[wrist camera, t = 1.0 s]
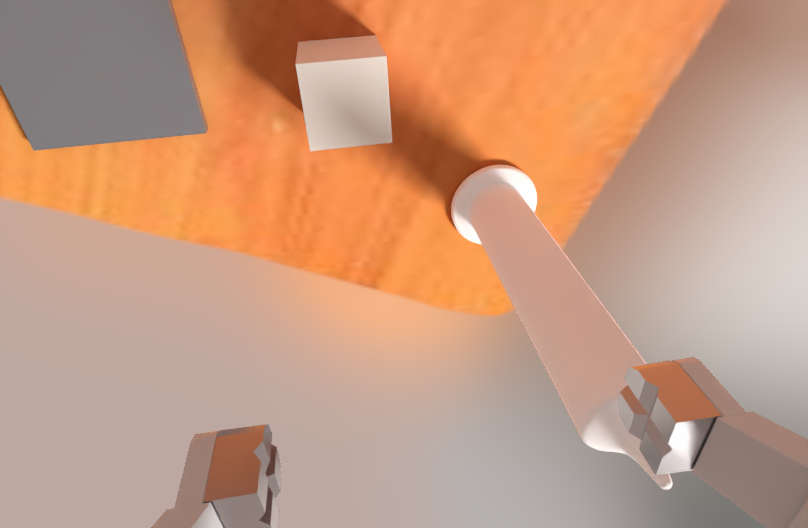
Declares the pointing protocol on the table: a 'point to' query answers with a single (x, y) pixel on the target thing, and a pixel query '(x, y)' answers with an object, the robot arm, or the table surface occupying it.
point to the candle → (553, 306)
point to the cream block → (344, 92)
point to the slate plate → (96, 71)
